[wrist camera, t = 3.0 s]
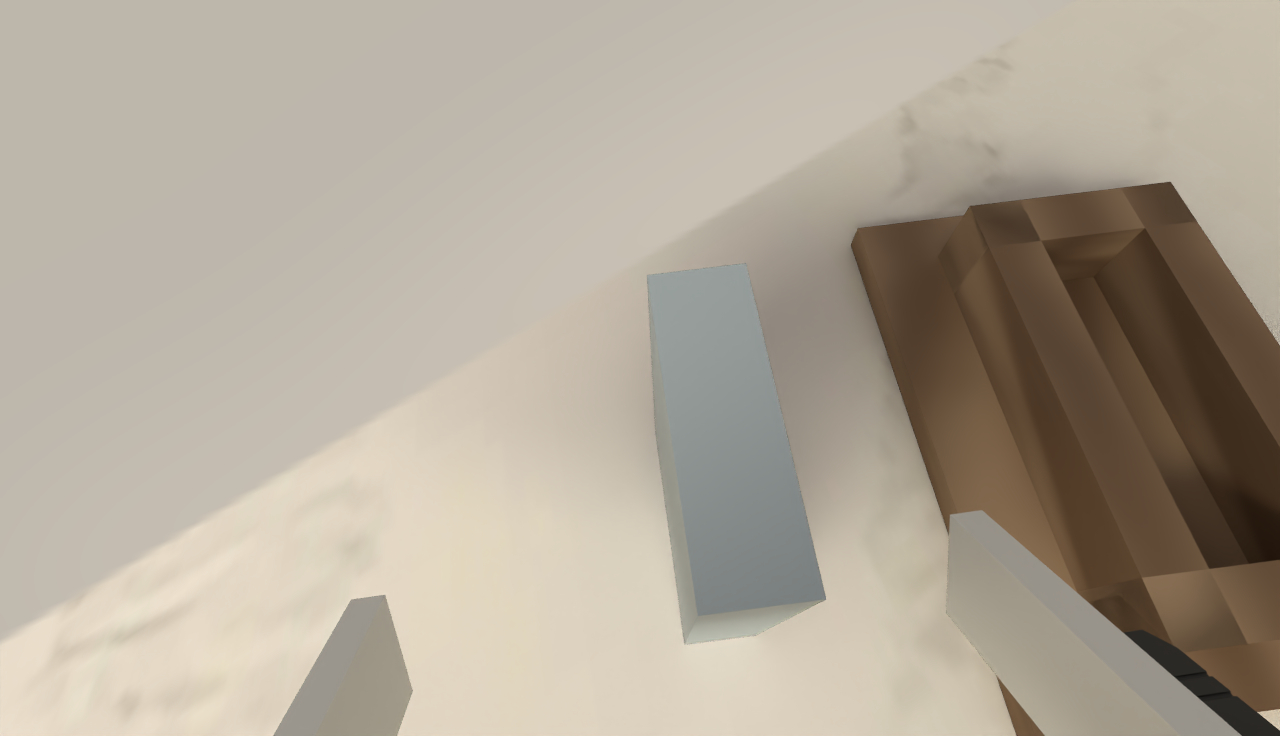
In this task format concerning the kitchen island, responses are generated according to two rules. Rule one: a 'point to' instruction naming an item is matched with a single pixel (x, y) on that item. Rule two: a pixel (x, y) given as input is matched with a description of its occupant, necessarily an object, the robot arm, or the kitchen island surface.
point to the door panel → (725, 460)
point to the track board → (1099, 409)
